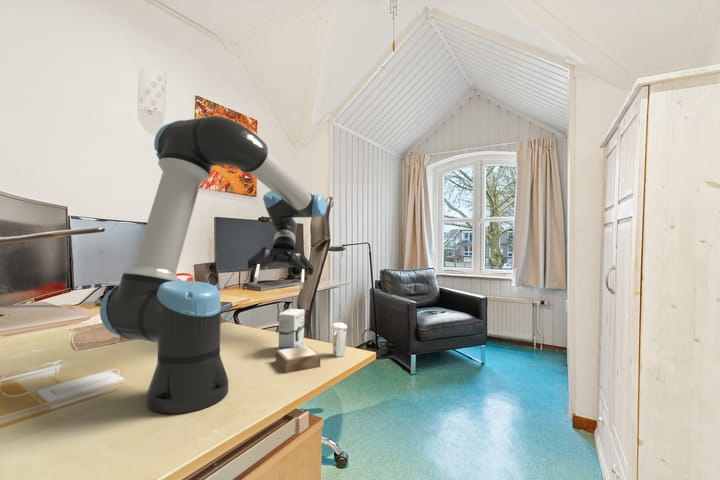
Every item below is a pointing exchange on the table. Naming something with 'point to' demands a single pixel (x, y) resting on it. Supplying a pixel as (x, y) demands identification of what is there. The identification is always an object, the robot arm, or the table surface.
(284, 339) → the ink box
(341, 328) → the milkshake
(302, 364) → the plinth
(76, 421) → the table surface
